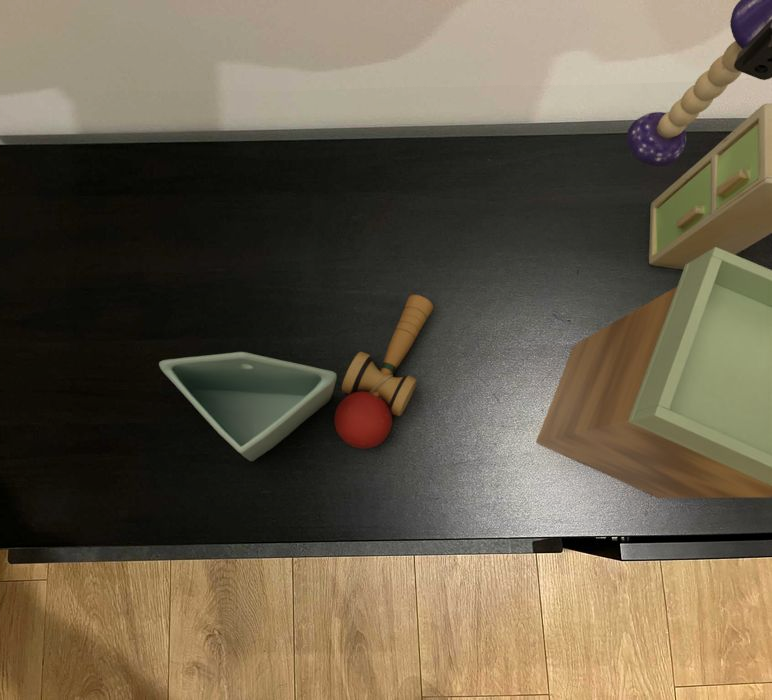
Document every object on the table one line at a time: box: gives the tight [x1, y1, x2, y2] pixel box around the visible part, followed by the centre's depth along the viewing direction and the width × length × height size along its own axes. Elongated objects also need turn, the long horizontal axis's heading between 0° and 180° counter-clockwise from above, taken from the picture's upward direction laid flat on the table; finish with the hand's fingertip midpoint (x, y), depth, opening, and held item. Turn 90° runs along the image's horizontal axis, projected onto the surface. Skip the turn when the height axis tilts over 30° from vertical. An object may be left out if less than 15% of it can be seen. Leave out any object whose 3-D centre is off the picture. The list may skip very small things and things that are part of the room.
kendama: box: [334, 294, 434, 450], centre depth 74 cm, size 8×6×18 cm
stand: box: [535, 286, 772, 499], centre depth 64 cm, size 14×12×24 cm
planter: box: [158, 351, 338, 462], centre depth 66 cm, size 16×8×20 cm, turn 86°
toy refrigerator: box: [648, 103, 772, 271], centre depth 70 cm, size 8×7×21 cm
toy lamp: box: [626, 0, 772, 168], centre depth 44 cm, size 5×5×17 cm
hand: (764, 32), depth 40 cm, fingers closed on toy lamp, 4 cm apart
